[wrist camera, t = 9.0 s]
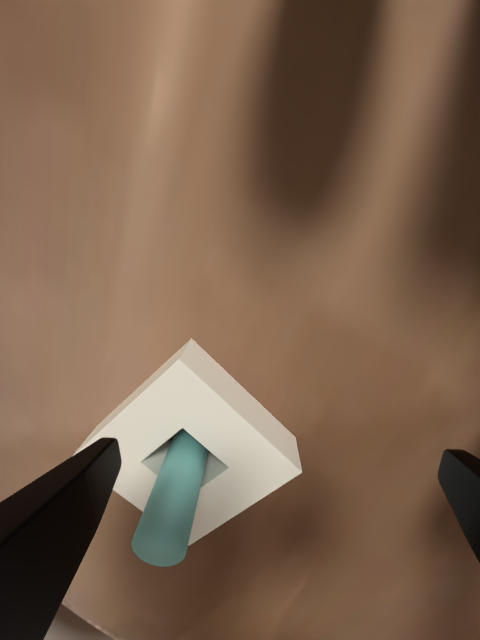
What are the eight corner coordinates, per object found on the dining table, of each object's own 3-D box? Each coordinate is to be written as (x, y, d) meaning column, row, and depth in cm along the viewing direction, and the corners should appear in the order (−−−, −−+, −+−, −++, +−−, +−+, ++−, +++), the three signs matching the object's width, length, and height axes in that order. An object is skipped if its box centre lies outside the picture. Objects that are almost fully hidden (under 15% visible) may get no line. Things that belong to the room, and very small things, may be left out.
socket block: (295, 437, 23) (302, 472, 20) (197, 505, 26) (188, 546, 22) (191, 338, 21) (179, 359, 17) (96, 425, 24) (70, 457, 20)
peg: (219, 432, 23) (198, 551, 15) (195, 451, 24) (161, 574, 15) (193, 409, 23) (155, 519, 14) (169, 429, 23) (120, 544, 15)
